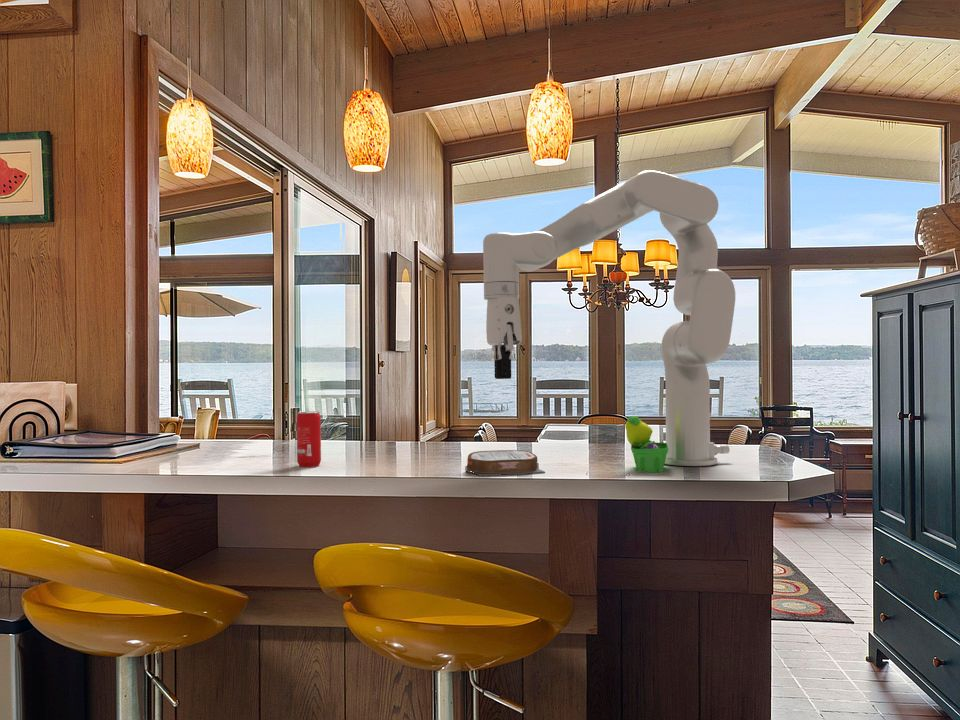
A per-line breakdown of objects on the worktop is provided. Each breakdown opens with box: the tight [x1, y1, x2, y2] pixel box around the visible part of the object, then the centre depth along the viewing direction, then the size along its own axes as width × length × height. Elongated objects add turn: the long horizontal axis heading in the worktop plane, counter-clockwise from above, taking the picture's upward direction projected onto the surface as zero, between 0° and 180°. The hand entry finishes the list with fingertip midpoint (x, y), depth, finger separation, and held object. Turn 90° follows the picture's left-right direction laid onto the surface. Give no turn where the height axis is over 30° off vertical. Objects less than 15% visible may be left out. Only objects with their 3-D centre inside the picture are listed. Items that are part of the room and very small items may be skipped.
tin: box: [466, 449, 538, 473], centre depth 161 cm, size 15×3×8 cm
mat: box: [464, 462, 546, 476], centre depth 160 cm, size 16×7×1 cm, turn 107°
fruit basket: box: [624, 415, 669, 473], centre depth 164 cm, size 11×9×11 cm
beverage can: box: [296, 410, 322, 468], centre depth 172 cm, size 5×5×12 cm
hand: (503, 378), depth 164 cm, fingers closed
